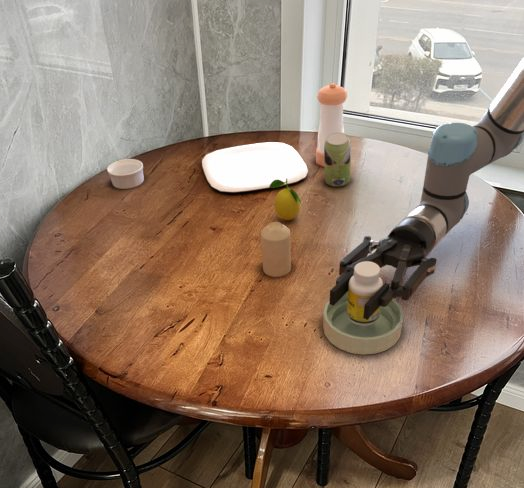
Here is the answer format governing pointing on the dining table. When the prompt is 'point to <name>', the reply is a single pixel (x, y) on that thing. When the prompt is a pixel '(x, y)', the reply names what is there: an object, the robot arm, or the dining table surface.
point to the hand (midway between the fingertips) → (348, 305)
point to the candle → (276, 249)
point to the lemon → (286, 201)
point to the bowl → (362, 328)
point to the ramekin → (126, 173)
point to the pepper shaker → (329, 116)
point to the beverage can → (337, 159)
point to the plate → (253, 167)
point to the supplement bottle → (363, 292)
